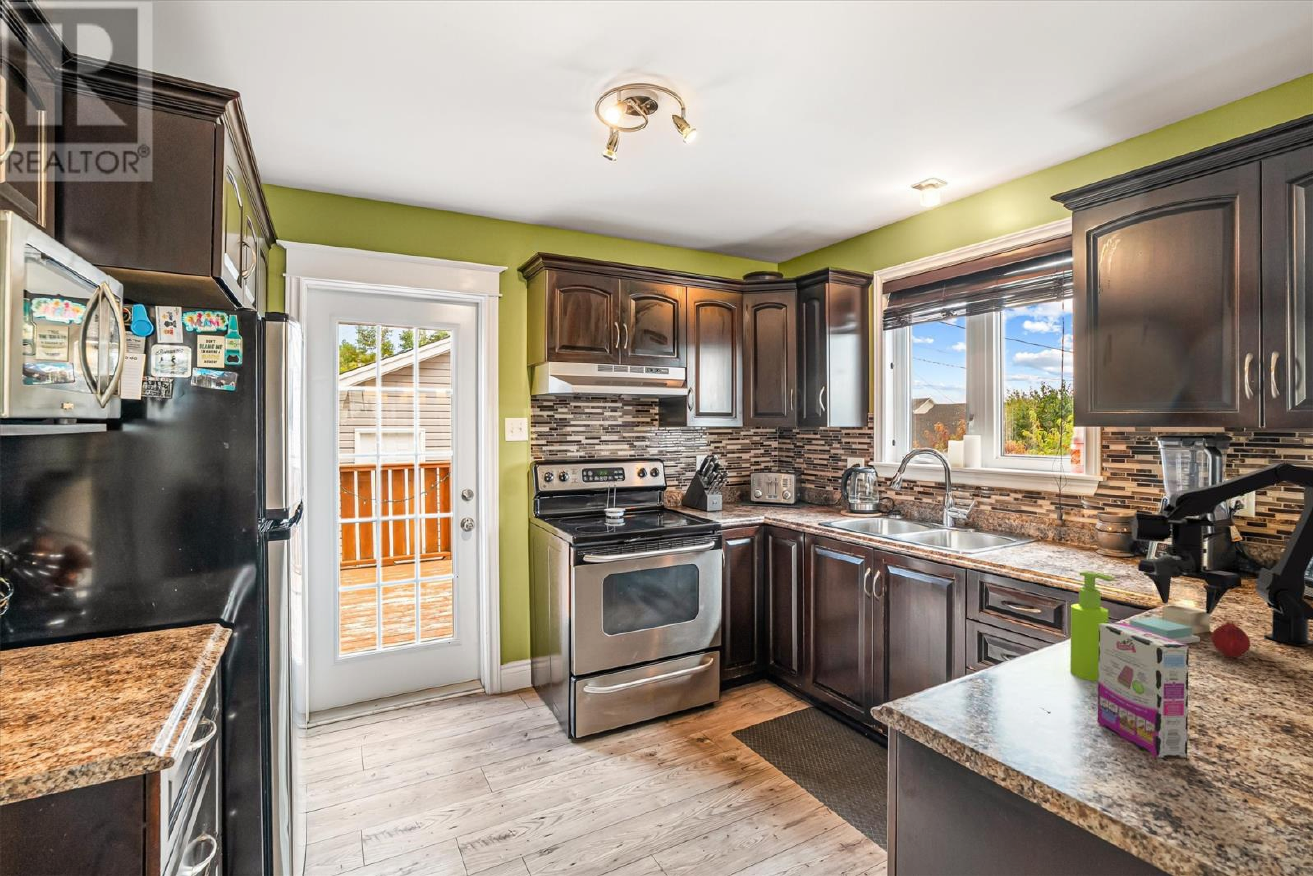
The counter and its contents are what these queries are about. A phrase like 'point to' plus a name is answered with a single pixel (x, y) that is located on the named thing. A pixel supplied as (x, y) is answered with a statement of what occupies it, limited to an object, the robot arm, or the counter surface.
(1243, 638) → the onion
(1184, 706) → the candy bar box
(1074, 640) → the soap dispenser
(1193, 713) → the counter surface
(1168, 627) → the tower base
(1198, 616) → the maple block
